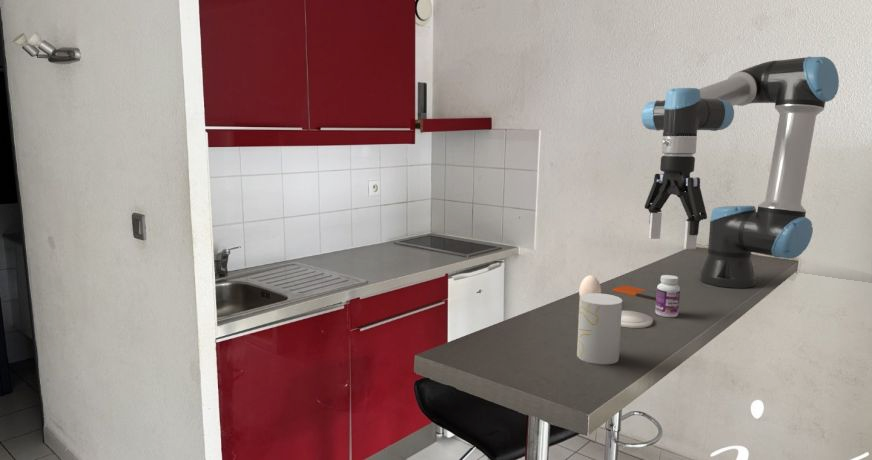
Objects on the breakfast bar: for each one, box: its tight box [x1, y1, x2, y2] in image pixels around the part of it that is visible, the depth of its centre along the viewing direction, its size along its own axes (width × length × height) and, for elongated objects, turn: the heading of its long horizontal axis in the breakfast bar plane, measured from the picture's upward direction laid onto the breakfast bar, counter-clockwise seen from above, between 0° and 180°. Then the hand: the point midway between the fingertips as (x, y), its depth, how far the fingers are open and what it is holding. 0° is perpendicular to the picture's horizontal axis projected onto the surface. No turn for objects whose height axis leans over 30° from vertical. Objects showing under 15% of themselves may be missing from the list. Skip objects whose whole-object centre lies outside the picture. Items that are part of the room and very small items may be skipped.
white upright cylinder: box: [576, 292, 623, 365], centre depth 119 cm, size 8×8×12 cm
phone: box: [612, 285, 657, 302], centre depth 166 cm, size 6×1×15 cm
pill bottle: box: [655, 274, 681, 318], centre depth 147 cm, size 5×5×10 cm
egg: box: [578, 275, 602, 297], centre depth 155 cm, size 6×6×8 cm
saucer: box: [621, 310, 654, 329], centre depth 143 cm, size 11×11×1 cm
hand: (671, 243), depth 145 cm, fingers open, 13 cm apart
